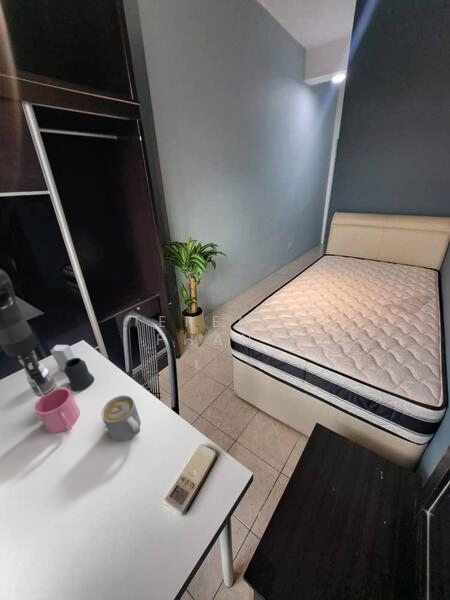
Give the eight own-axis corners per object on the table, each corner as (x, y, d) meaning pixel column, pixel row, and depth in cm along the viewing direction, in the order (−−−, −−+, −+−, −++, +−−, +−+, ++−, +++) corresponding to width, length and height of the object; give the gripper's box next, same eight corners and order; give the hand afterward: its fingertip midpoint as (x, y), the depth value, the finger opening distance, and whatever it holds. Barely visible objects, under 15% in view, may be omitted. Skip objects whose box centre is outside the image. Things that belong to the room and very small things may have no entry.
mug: (98, 380, 103) (90, 359, 98) (76, 395, 97) (66, 374, 92) (83, 369, 110) (75, 349, 104) (62, 382, 103) (52, 362, 98)
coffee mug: (105, 427, 84) (96, 408, 79) (132, 409, 90) (126, 390, 85) (121, 456, 75) (112, 436, 70) (150, 433, 81) (144, 414, 76)
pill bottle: (58, 381, 84) (46, 359, 79) (54, 394, 79) (42, 371, 74) (38, 386, 82) (25, 364, 77) (34, 400, 77) (19, 377, 72)
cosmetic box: (79, 365, 112) (70, 344, 107) (73, 372, 109) (63, 350, 103) (66, 364, 113) (56, 343, 107) (60, 371, 109) (49, 350, 103)
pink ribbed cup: (42, 421, 88) (30, 402, 83) (73, 401, 94) (64, 383, 89) (56, 446, 79) (43, 426, 74) (88, 423, 86) (79, 403, 81)
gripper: (-4, 330, 72) (22, 373, 80) (1, 353, 63) (29, 398, 71) (27, 320, 77) (48, 361, 85) (35, 340, 67) (58, 384, 75)
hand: (39, 378), depth 78 cm, fingers closed on pill bottle, 5 cm apart
